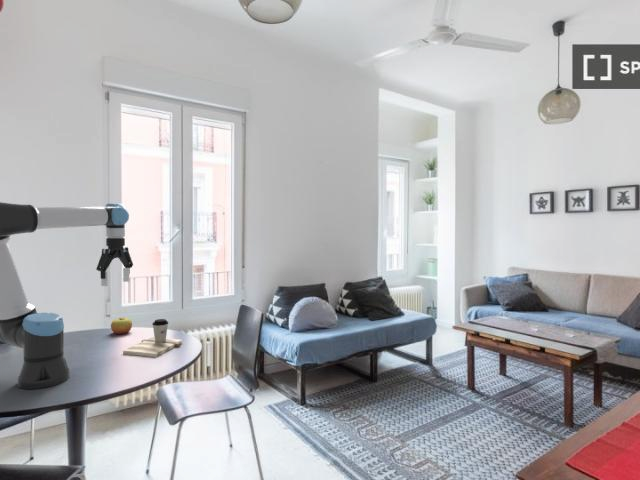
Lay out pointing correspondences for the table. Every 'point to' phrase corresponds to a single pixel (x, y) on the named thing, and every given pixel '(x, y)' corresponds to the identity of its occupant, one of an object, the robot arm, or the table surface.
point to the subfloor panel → (152, 347)
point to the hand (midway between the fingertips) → (115, 283)
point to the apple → (121, 325)
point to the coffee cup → (160, 330)
